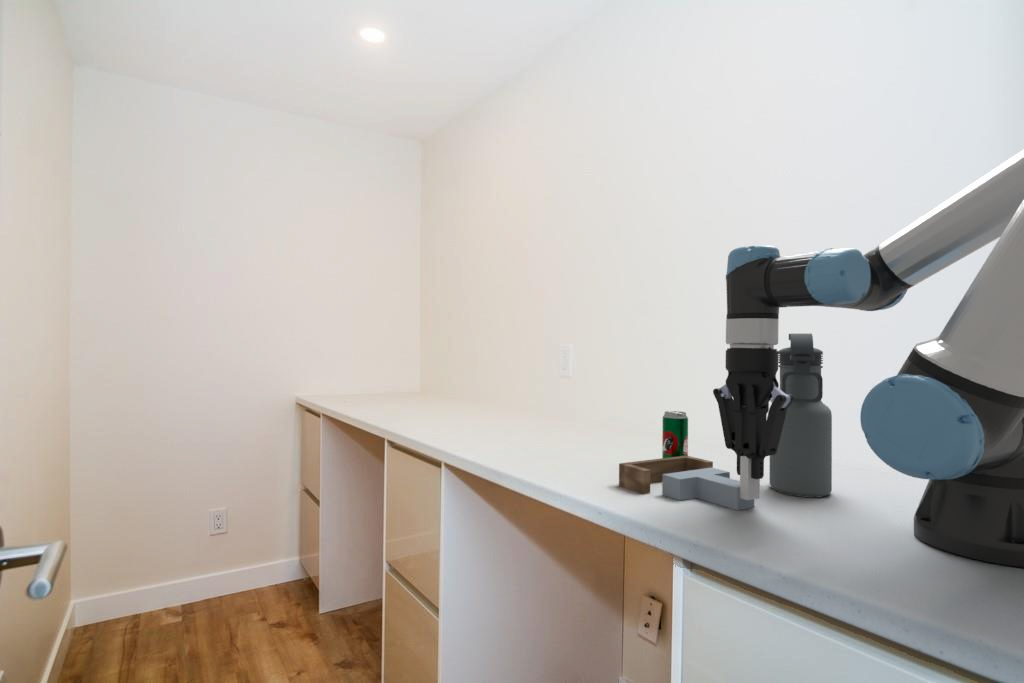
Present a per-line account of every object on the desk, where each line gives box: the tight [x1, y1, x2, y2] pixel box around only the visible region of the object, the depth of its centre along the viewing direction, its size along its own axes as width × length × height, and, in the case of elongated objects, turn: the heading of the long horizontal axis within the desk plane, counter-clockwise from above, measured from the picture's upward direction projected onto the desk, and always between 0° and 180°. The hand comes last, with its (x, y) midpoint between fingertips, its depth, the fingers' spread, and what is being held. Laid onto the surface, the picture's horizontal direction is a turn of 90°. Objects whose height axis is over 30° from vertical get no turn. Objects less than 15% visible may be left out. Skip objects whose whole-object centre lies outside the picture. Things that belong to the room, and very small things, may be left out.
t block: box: [661, 467, 755, 511], centre depth 90 cm, size 12×12×4 cm
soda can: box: [661, 410, 689, 458], centre depth 111 cm, size 5×5×12 cm
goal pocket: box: [618, 455, 714, 495], centre depth 100 cm, size 6×17×4 cm, turn 118°
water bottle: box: [769, 333, 833, 498], centre depth 96 cm, size 10×10×28 cm
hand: (749, 497), depth 84 cm, fingers closed
